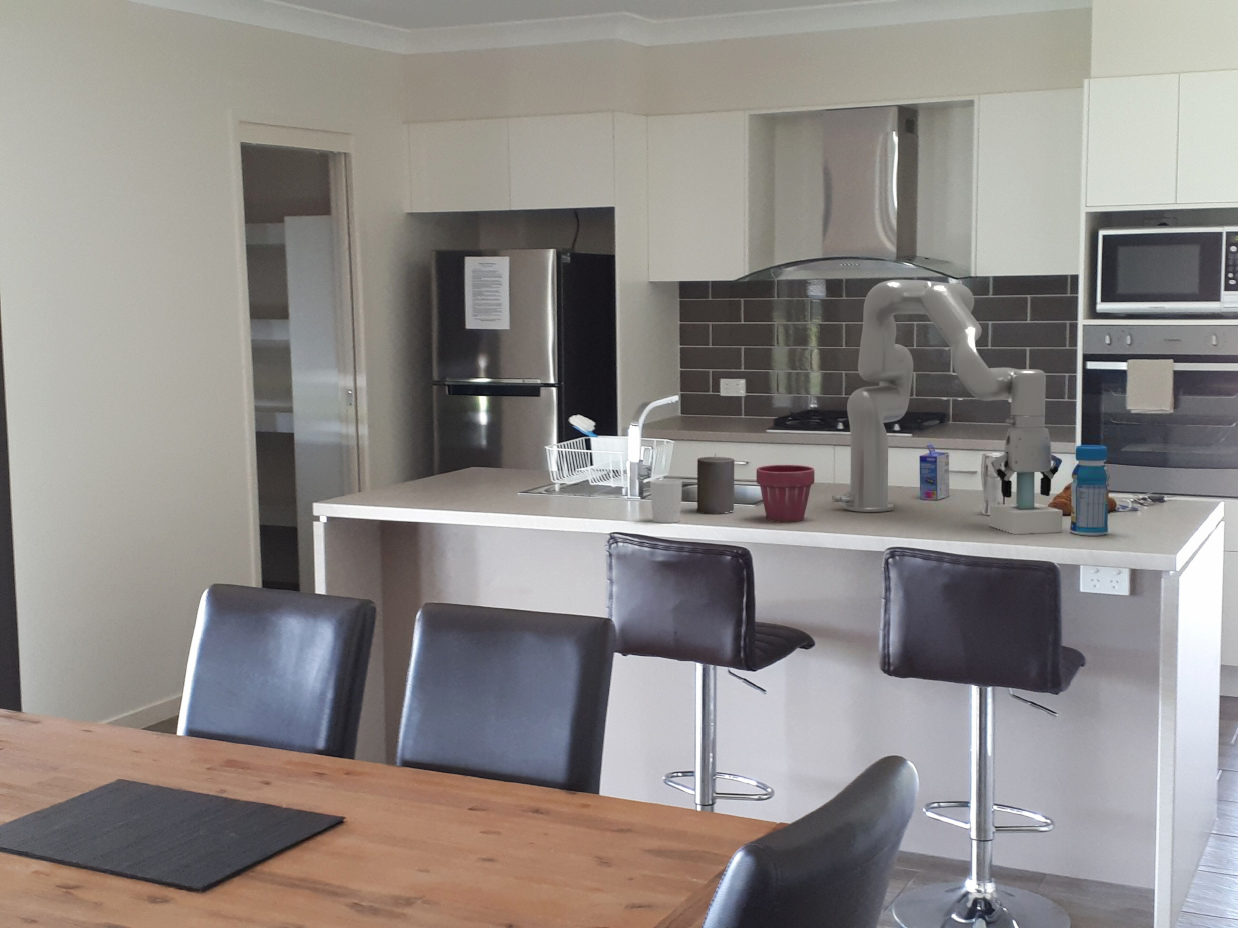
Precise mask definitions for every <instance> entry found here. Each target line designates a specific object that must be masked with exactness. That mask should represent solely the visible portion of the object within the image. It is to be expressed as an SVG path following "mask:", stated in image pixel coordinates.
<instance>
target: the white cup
mask: <svg viewBox="0 0 1238 928" xmlns="http://www.w3.org/2000/svg"><path fill="white" fill-rule="evenodd" d="M649 483H650V484H649V485H650V502H651V503H650V504H651V511H652V521H653V522H654V523H659V524H673V523H679V522H681V510H682V497H683V495H682V492H683V480H681V479H675V478H670V479H669V478H662V479H661V478H659V479H653V480H650V481H649Z"/></svg>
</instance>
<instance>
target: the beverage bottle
mask: <svg viewBox="0 0 1238 928" xmlns="http://www.w3.org/2000/svg"><path fill="white" fill-rule="evenodd" d="M1107 460H1108V448H1107V446H1105V445H1095V444H1091V445H1090V444H1082V445H1076V446H1075V461H1076V462H1078V463H1077V464H1076V466H1075V467H1074V468H1073V470H1072V473H1071V478H1072V481H1071V482H1072V484H1071V492H1072V501H1071V516H1070V524H1069V525H1070V526H1069V531H1070V532H1071V534H1074V535H1077V536H1088V537H1099V536H1105V535H1107V534H1108V533H1109V525H1108V521H1109V518H1108V517H1109V515H1108V514H1109V512H1108V497H1109V498H1110V496H1109V495H1110V494H1109V493H1110V492H1111V491H1110V490H1111V486H1110V484H1109V480H1110V478H1111V476H1110V472H1109V470H1108V468H1107V466H1106V464H1104V463H1105V462H1107Z"/></svg>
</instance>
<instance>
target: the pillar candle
mask: <svg viewBox="0 0 1238 928" xmlns="http://www.w3.org/2000/svg"><path fill="white" fill-rule="evenodd" d="M696 461H697V466H696V467H697V468H696V472H697V474H696V476H697V477H696V480H697V481H696V485H697V487H696V488H697V489H696V490H697V491H696V505H697V506H696V507H697V508H696V512H697V513H699V514H700V513H701V514H708V515H719V514H718V513H725V512H730V511H733V510H734V511H735V459H734V458H731V457H725V456H717V454H716V453H715V454H714V456H702V457H698V458H697V460H696Z"/></svg>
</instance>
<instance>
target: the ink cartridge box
mask: <svg viewBox="0 0 1238 928" xmlns="http://www.w3.org/2000/svg"><path fill="white" fill-rule="evenodd" d="M926 447H927V450H928V452H927V453H924V454H921V455H919V497H920V500H925V501H926V500H929V501H939V500H941V499H944V498H947V497H949V496H950V453H949V452H944V451H936V450H935V447H934V445H932V444H927V445H926Z"/></svg>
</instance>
